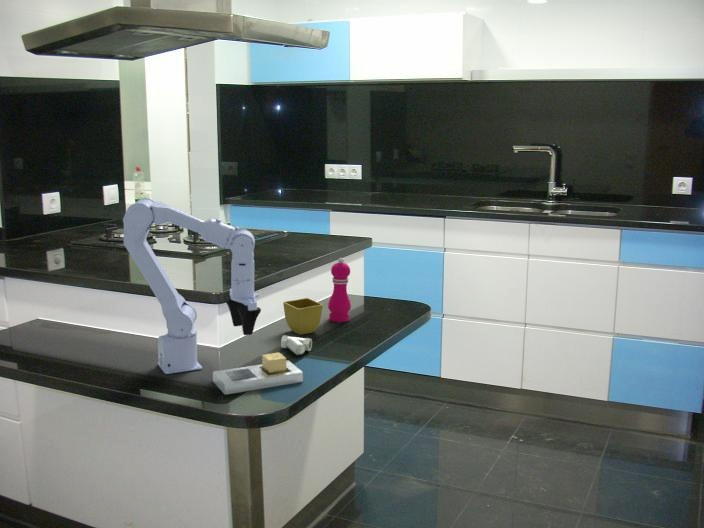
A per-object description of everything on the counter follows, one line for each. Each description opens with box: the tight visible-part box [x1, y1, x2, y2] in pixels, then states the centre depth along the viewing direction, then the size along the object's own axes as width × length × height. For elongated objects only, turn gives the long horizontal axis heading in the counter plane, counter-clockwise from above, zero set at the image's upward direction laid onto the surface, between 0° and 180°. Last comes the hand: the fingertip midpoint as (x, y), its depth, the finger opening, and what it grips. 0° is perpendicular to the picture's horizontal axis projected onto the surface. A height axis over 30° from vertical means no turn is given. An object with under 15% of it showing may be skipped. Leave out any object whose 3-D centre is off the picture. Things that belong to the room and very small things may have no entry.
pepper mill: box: [327, 257, 352, 323], centre depth 229 cm, size 7×7×20 cm
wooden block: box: [261, 351, 287, 375], centre depth 180 cm, size 4×4×6 cm
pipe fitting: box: [280, 335, 313, 356], centre depth 201 cm, size 8×4×7 cm
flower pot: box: [282, 297, 324, 336], centre depth 216 cm, size 9×9×9 cm
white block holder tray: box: [212, 359, 304, 395], centre depth 178 cm, size 20×9×2 cm, turn 118°
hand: (242, 330), depth 186 cm, fingers open, 7 cm apart
